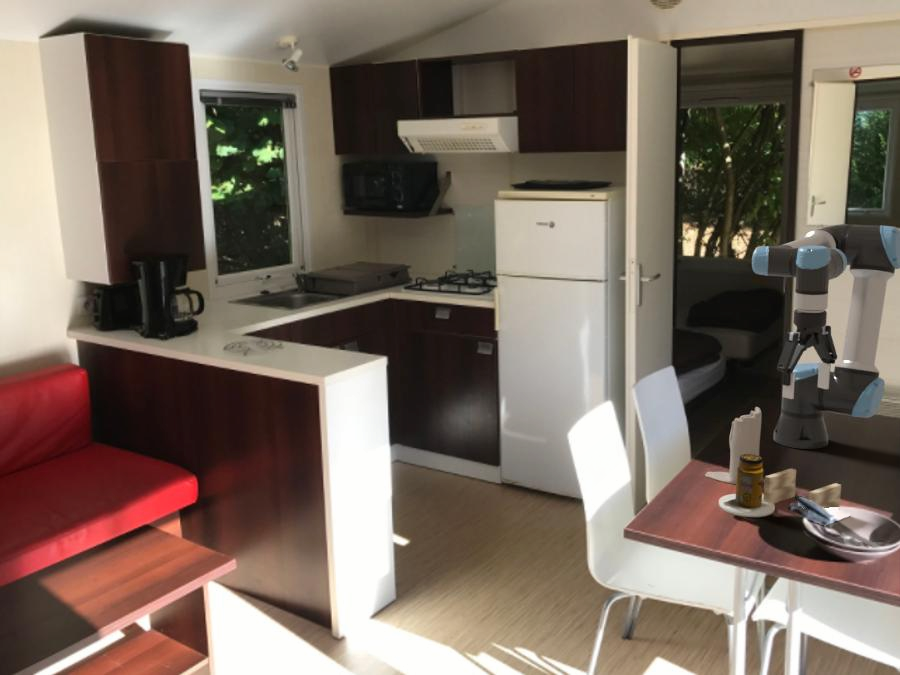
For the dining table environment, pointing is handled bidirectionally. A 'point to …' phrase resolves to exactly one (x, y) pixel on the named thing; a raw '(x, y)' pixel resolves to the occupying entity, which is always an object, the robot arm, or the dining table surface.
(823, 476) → the dining table surface
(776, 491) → the rack
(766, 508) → the coaster
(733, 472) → the candle
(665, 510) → the dining table surface
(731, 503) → the condiment
